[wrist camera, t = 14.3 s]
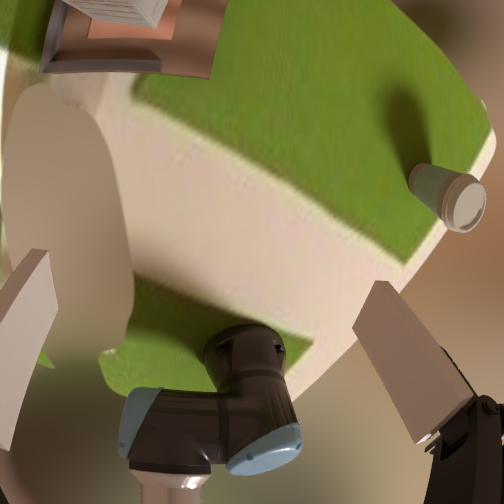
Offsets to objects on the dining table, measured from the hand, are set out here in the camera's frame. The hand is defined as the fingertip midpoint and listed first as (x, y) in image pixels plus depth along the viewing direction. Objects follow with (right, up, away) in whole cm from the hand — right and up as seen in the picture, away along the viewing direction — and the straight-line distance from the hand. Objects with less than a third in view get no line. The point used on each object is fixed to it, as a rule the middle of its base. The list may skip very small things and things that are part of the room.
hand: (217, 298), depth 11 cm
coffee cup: (+29, +14, +31) cm, 45 cm away
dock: (-12, +31, +13) cm, 36 cm away
